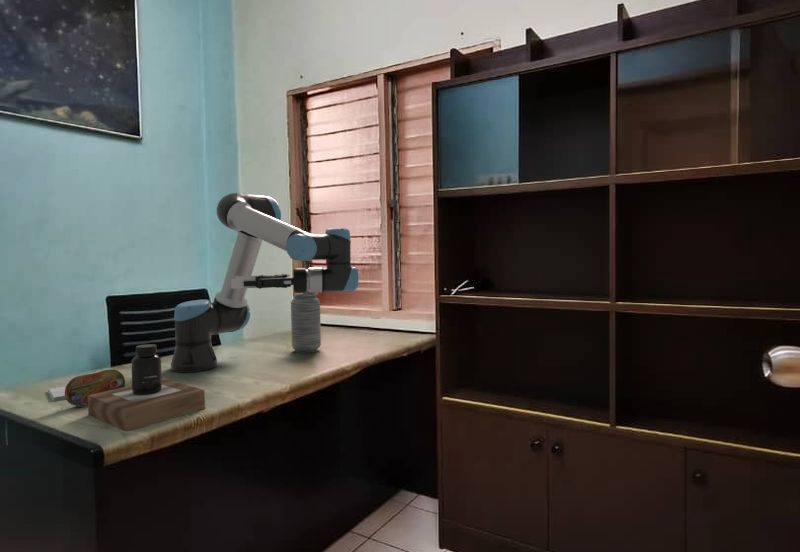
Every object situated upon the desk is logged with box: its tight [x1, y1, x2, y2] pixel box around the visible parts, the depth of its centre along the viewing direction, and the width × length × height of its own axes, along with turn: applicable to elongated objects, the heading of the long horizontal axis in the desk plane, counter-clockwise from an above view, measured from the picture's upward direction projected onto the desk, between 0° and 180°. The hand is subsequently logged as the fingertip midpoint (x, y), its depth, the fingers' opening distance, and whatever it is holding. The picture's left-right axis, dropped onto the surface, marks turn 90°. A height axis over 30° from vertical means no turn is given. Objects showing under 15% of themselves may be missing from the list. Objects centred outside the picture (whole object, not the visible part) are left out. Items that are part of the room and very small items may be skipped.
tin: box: [65, 369, 126, 408], centre depth 138 cm, size 15×3×8 cm, turn 149°
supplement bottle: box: [131, 343, 163, 395], centre depth 130 cm, size 7×7×12 cm
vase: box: [290, 293, 322, 354], centre depth 203 cm, size 12×12×23 cm
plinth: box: [87, 378, 206, 432], centre depth 130 cm, size 20×20×5 cm
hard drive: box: [47, 385, 67, 402], centre depth 147 cm, size 2×8×12 cm
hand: (233, 282), depth 148 cm, fingers open, 13 cm apart
